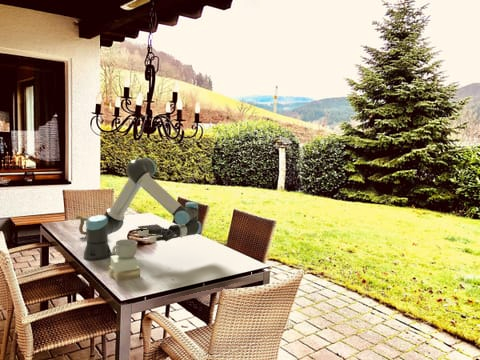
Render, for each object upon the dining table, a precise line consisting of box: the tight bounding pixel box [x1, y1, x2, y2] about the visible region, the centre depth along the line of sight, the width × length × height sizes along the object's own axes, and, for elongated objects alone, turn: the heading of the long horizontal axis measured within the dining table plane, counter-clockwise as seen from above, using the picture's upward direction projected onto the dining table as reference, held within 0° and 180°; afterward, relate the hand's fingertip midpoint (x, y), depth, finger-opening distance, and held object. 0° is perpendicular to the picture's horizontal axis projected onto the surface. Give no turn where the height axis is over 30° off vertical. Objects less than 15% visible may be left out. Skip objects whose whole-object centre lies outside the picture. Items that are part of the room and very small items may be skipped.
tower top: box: [110, 254, 138, 272], centre depth 200 cm, size 11×11×5 cm
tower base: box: [108, 264, 141, 283], centre depth 201 cm, size 12×12×5 cm
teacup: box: [111, 238, 138, 259], centre depth 199 cm, size 14×11×8 cm
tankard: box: [75, 215, 91, 239], centre depth 265 cm, size 20×13×15 cm, turn 84°
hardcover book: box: [137, 223, 163, 234], centre depth 288 cm, size 16×23×2 cm
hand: (143, 236), depth 207 cm, fingers open, 13 cm apart
